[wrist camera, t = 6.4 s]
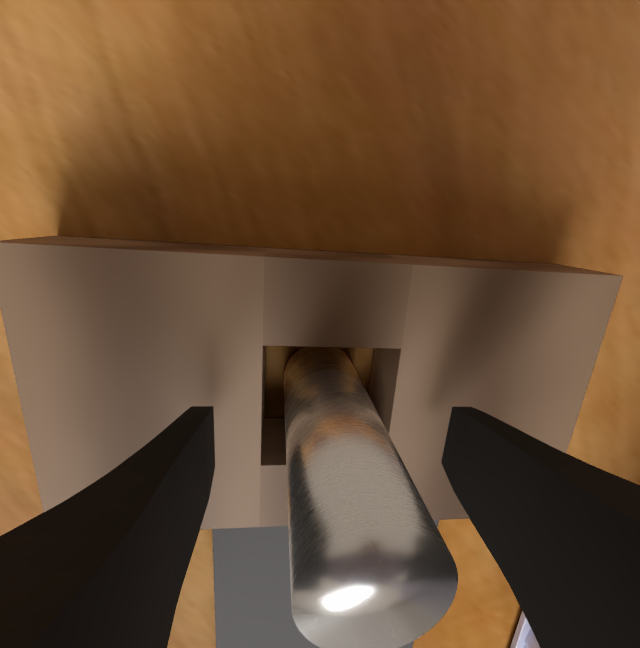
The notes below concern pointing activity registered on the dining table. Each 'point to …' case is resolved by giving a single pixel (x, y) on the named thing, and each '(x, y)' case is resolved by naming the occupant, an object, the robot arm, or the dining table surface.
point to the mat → (255, 589)
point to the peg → (355, 516)
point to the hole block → (283, 330)
